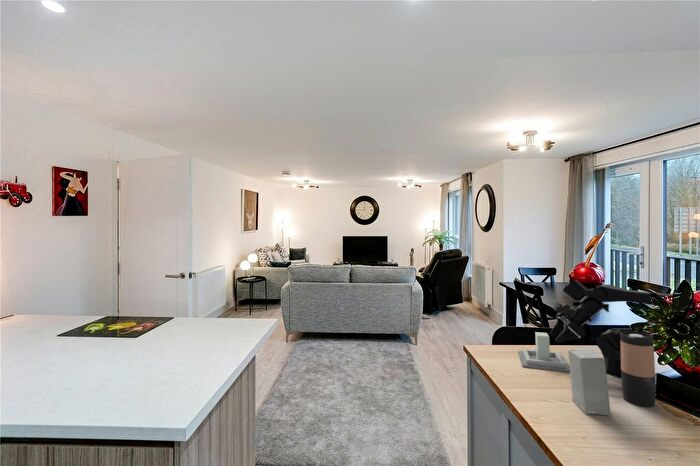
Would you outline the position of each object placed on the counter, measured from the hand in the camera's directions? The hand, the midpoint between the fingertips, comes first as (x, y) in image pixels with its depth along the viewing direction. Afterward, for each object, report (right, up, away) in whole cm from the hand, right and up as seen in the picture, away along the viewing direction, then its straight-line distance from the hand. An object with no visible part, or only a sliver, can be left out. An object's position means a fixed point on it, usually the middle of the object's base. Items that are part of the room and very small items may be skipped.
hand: (553, 338), depth 129 cm
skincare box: (-10, -10, -33) cm, 36 cm away
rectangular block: (-3, -9, +2) cm, 10 cm away
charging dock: (-3, -10, +2) cm, 10 cm away
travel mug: (+7, -10, -30) cm, 32 cm away
